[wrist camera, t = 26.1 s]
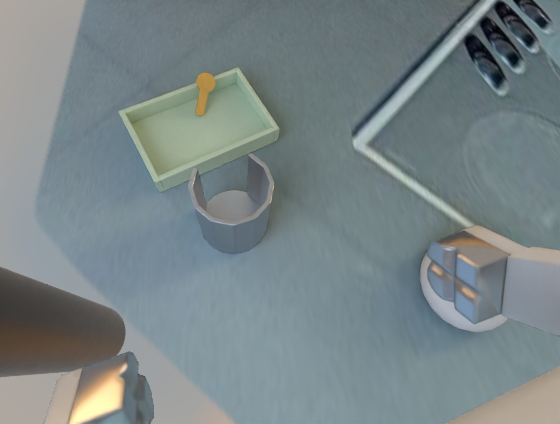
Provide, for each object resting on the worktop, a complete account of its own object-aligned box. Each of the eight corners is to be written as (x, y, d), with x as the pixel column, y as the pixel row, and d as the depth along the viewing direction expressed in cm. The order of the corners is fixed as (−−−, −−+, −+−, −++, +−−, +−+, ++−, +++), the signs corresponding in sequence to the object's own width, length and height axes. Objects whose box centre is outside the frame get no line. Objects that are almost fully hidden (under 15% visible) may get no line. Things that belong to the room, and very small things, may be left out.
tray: (159, 193, 39) (154, 182, 37) (125, 124, 42) (118, 111, 40) (277, 140, 43) (279, 128, 41) (238, 81, 46) (238, 66, 44)
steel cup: (276, 241, 39) (285, 209, 30) (211, 262, 37) (202, 235, 29) (254, 184, 41) (257, 140, 33) (193, 202, 39) (179, 161, 31)
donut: (418, 330, 37) (512, 335, 37) (434, 327, 33) (536, 333, 34) (409, 238, 40) (494, 244, 41) (423, 227, 37) (515, 234, 38)
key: (217, 75, 42) (216, 76, 43) (199, 69, 42) (198, 70, 42) (208, 117, 43) (207, 117, 43) (190, 112, 42) (189, 112, 43)
